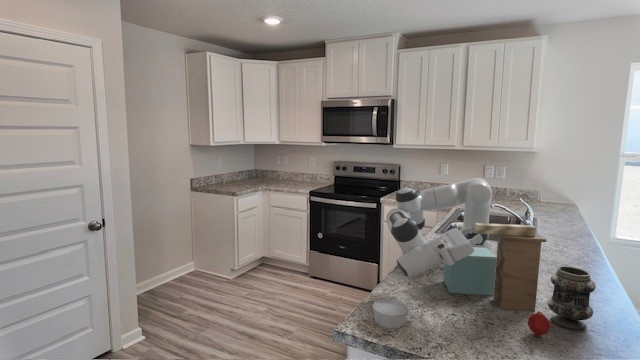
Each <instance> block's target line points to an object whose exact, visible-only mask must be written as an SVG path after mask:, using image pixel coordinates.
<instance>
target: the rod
mask: <svg viewBox="0 0 640 360" xmlns="http://www.w3.org/2000/svg"><path fill="white" fill-rule="evenodd" d="M536 230H537V227H536V226H534V225H533V224H531V225H530V224H510V223H506V224H504V223H489V224H488V223H475V232H476V233H477V234H489V235H497V234H499V235H522V236H535V233H536Z"/></svg>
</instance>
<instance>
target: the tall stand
mask: <svg viewBox="0 0 640 360" xmlns="http://www.w3.org/2000/svg"><path fill="white" fill-rule="evenodd" d="M496 235H497V246H496V269H495V282H494V295H493V300H494V302H495V303H496V305H497V306H498V307H499V308H500V310H504V311H505V310H506V311H507V310H508V311H522V312H534V313H536V303H537V294H538V284H539V283H538V282H539V272H540V271H539V270H540V262H541V261H540V260H541V252H542V251H541V248H542V243H547V239H546V237H543V236H542V235H540V234H539V233H535V236H522V235H499V234H496Z"/></svg>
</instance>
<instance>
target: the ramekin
mask: <svg viewBox="0 0 640 360" xmlns="http://www.w3.org/2000/svg"><path fill="white" fill-rule="evenodd" d="M372 311H373V318H374V321H375V323H376V324H377V325H378V326H380V327H382V328H385V329H388V330H389V329H391V330H395V329H400V328H401V327H403V326H404V325H405V323H406V318H407V315H408V312H409V310H408V306H407V305H406V304H405V303H403V302H401V301H400V300H396V299H391V298H382V299H378V300H376V301H374V302H373V304H372Z"/></svg>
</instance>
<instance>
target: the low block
mask: <svg viewBox="0 0 640 360" xmlns="http://www.w3.org/2000/svg"><path fill="white" fill-rule="evenodd" d="M473 248H474V252H473V253H472V254H470V255H469V256H467V257H465V258H463V259H461V260H459V261H454V262H455V263H454V264H453V265H451V266H449V265H447V264H443V265H444V268H443V269H444V270H443V284H445V286H446V289H447V291H448V292H449V294H464V295H465V294H466V295H478V296H479V295H480V296H481V295H482V296H494V284H495V271H496V258H497V255H495V254H494V253H493V252H492V250H491V251H490V250H488V249H487V248H478V247H473Z"/></svg>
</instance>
